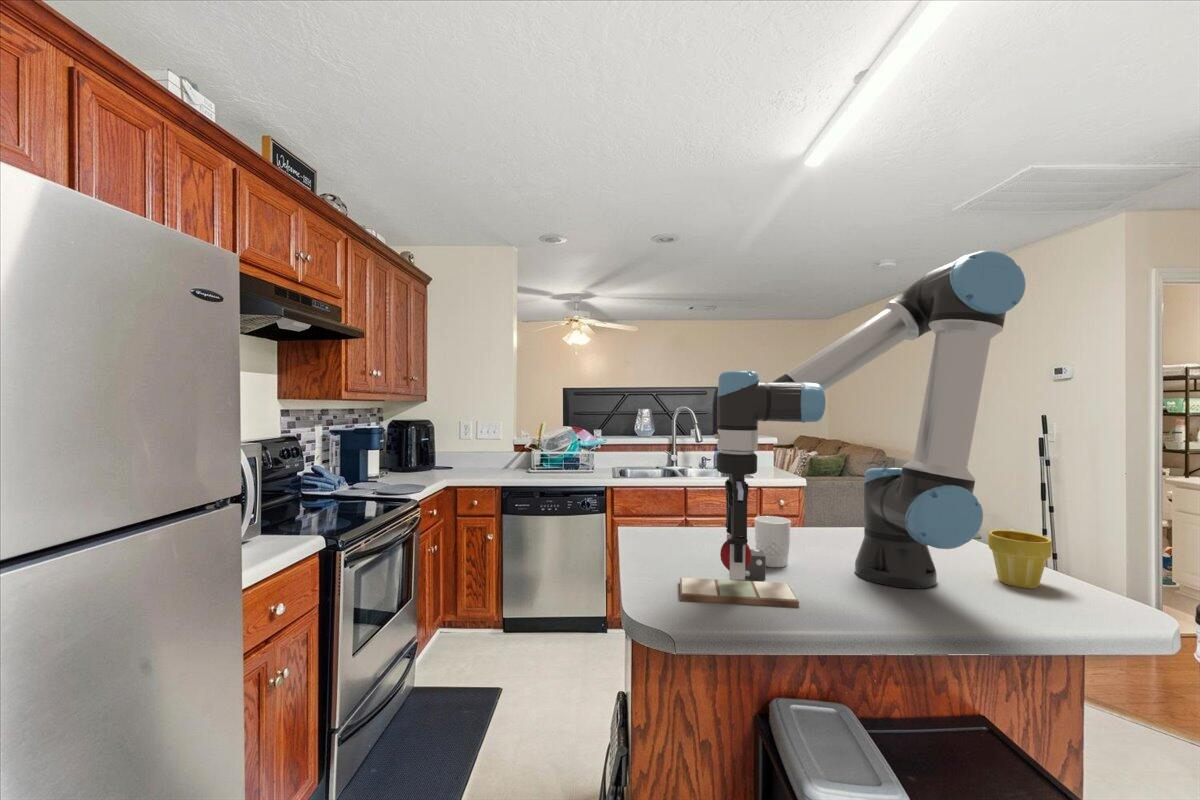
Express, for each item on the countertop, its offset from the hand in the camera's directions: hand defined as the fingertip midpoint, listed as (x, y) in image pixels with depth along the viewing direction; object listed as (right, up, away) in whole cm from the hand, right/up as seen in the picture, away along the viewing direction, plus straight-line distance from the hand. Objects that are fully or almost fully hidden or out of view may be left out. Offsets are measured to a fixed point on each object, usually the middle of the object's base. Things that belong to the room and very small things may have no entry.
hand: (735, 573), depth 103 cm
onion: (0, 0, 0) cm, 0 cm away
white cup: (+13, -4, +20) cm, 25 cm away
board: (0, -4, 0) cm, 4 cm away
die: (+6, -4, +11) cm, 14 cm away
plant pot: (+60, -5, +8) cm, 61 cm away
